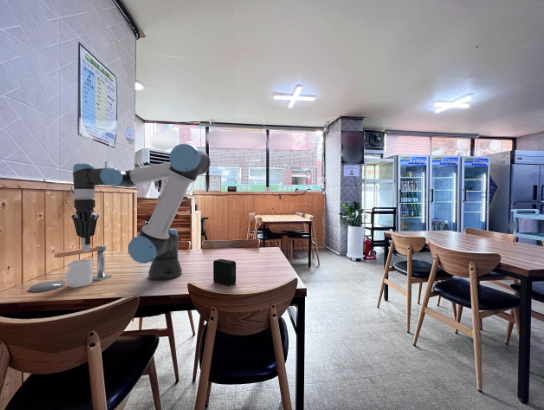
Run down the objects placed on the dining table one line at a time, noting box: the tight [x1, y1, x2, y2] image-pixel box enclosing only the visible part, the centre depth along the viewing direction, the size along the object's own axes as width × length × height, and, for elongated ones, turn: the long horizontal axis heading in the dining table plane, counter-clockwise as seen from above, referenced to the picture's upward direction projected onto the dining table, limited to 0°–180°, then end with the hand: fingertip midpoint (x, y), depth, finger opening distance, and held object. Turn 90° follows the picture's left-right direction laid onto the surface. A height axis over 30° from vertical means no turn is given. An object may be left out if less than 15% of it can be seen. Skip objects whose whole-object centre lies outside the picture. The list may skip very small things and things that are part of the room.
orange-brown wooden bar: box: [54, 245, 107, 259], centre depth 108 cm, size 4×19×2 cm, turn 153°
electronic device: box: [212, 258, 237, 287], centre depth 108 cm, size 4×10×10 cm, turn 58°
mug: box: [64, 258, 93, 289], centre depth 104 cm, size 12×8×10 cm
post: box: [92, 250, 113, 281], centre depth 115 cm, size 6×6×13 cm
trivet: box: [29, 280, 66, 293], centre depth 103 cm, size 11×11×1 cm
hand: (86, 251), depth 108 cm, fingers closed
